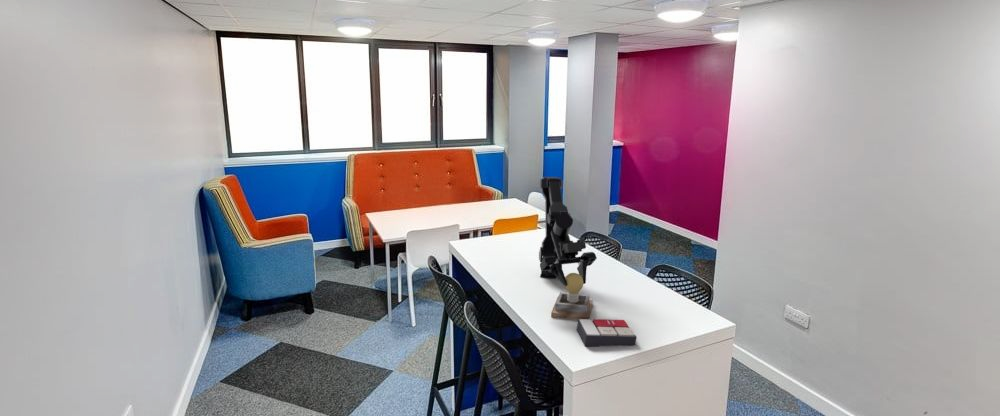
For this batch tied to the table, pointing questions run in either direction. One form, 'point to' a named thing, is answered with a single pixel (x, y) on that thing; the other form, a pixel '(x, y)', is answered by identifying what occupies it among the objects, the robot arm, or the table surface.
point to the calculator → (605, 333)
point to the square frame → (572, 307)
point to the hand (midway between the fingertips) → (575, 284)
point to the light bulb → (573, 286)
